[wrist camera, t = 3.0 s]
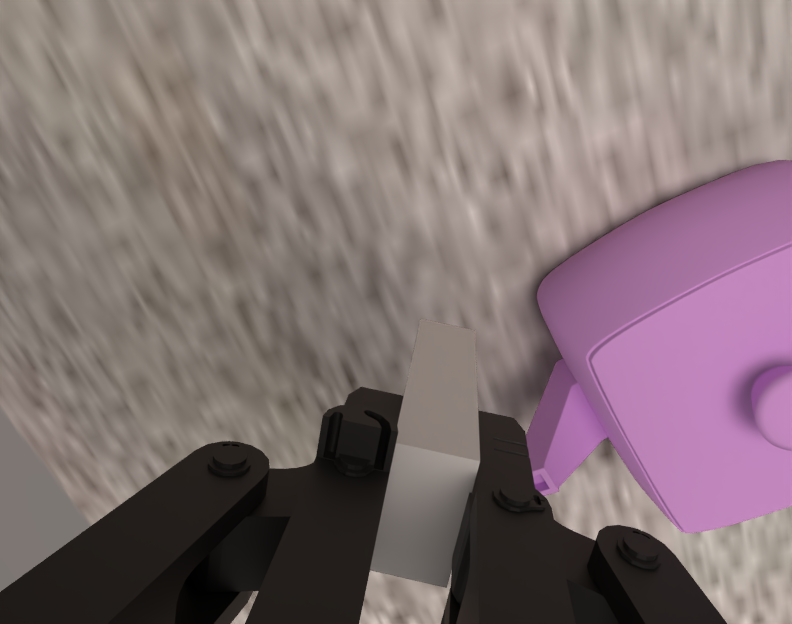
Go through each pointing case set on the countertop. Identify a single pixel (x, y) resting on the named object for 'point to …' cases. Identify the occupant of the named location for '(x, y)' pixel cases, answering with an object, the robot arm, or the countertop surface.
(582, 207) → the countertop surface
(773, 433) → the teapot
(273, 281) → the countertop surface
